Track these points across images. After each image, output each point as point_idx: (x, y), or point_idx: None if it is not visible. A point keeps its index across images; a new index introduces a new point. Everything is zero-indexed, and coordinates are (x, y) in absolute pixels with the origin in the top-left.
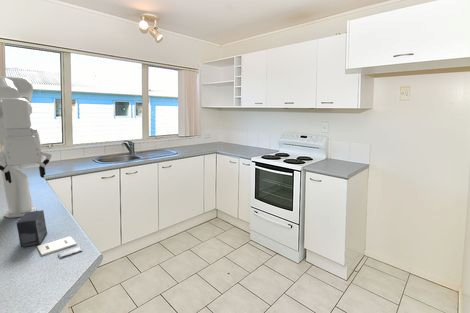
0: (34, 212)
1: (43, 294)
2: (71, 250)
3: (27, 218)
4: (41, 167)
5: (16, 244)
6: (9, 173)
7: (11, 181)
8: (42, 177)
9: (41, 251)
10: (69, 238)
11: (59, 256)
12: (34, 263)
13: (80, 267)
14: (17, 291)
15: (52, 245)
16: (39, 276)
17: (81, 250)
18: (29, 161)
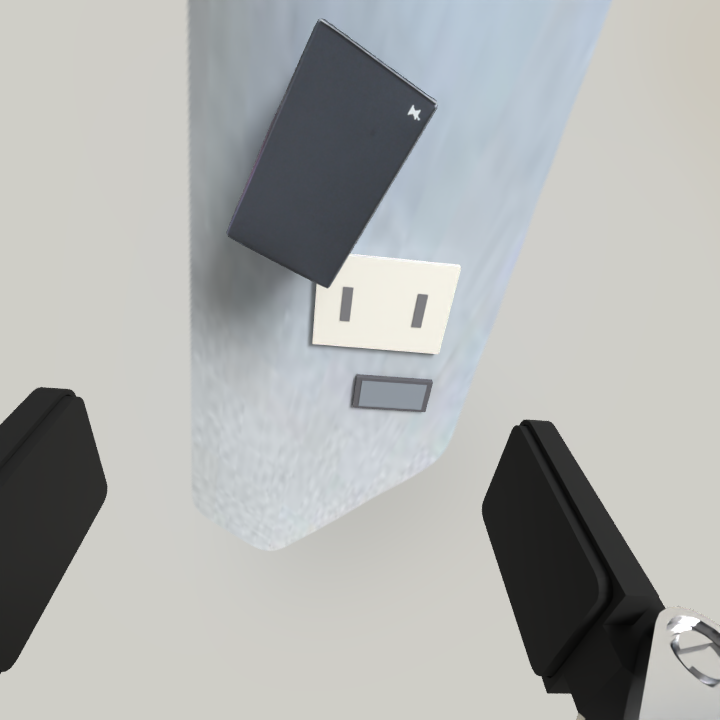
0: (368, 110)
1: (267, 517)
2: (399, 391)
3: (296, 221)
4: (564, 683)
5: (245, 111)
6: (9, 656)
7: (100, 505)
8: (487, 515)
9: (318, 320)
10: (446, 289)
11: (354, 398)
12: (280, 373)
13: (373, 481)
14: (219, 474)
15: (368, 300)
16: (276, 450)
17: (422, 411)
18: None
